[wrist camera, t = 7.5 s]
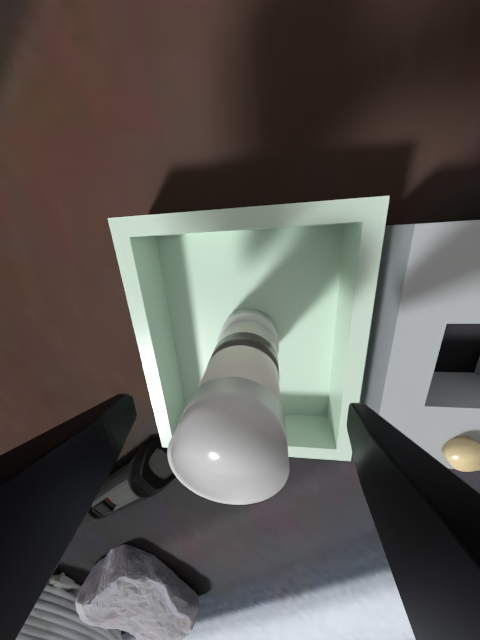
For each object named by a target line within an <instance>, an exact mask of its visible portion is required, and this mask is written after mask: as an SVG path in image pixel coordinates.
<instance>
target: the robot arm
mask: <svg viewBox="0 0 480 640" xmlns="http://www.w3.org/2000/svg"><path fill="white" fill-rule="evenodd" d="M136 416H137V411H136V407H135V404H134V400H133V397H132V395H131V394H118V395H116V396H114V397H112V398H110V399H108V400H106V401H104V402H102V403H100V404H99V405H97V406H95V407H93V408H91V409H89V410H87V411H85V412H83V413H81V414H79V415H77V416H75V417H74V418H72V419H70V420H68V421H66V422H64V423H62V424H60V425H58V426H56V427H54V428H52V429H50V430H49V431H47V432H45V433H43V434H41V435H39V436H37V437H35V438H33V439H31V440H29V441H27V442H25V443H24V444H22V445H20V446H18V447H16V448H14V449H12V450H10V451H8V452H6V453H4V454H2V455H0V640H16V638H17V636H18V635H19V633H20V631H21V629H22V627H23V626H24V624H25V622H26V620H27V619H28V617H29V615H30V613H31V612H32V610H33V608H34V606H35V604H36V603H37V601H38V599H39V597H40V596H41V594H42V592H43V590H44V589H45V587H46V585H47V583H48V581H49V580H50V578H51V576H52V574H53V573H54V571H55V569H56V567H57V566H58V564H59V562H60V560H61V559H62V557H63V555H64V553H65V551H66V550H67V548H68V546H69V544H70V543H71V541H72V539H73V537H74V536H75V534H76V532H77V530H78V528H79V527H80V525H81V523H82V521H83V520H84V518H85V516H86V514H87V513H88V511H89V509H90V507H91V505H92V504H93V502H94V500H95V498H96V497H97V495H98V493H99V491H100V490H101V488H102V486H103V484H104V482H105V481H106V479H107V477H108V475H109V474H110V472H111V470H112V468H113V466H114V465H115V463H116V461H117V459H118V457H119V455H120V453H121V450H122V448H123V446H124V444H125V442H126V439H127V437H128V435H129V433H130V431H131V428H132V426H133V424H134V422H135V419H136ZM347 432H348V436H349V440H350V444H351V448H352V452H353V456H354V460H355V464H356V468H357V472H358V476H359V480H360V483H361V487H362V490H363V493H364V495H365V498H366V501H367V504H368V507H369V509H370V512H371V515H372V518H373V521H374V523H375V526H376V529H377V532H378V535H379V537H380V540H381V543H382V546H383V549H384V552H385V554H386V557H387V560H388V563H389V566H390V568H391V571H392V574H393V577H394V580H395V582H396V585H397V588H398V591H399V594H400V596H401V599H402V602H403V605H404V608H405V611H406V613H407V616H408V619H409V622H410V625H411V627H412V630H413V633H414V636H415V639H416V640H480V493H479V492H478V491H476V490H475V489H474V488H473V487H471V486H470V485H469V484H467V483H466V482H465V481H464V480H462V479H461V478H460V477H458V476H457V475H456V474H455V473H453V472H452V471H451V470H449V469H448V468H447V467H446V466H444V465H443V464H442V463H440V462H439V461H438V460H437V459H435V458H434V457H433V456H431V455H430V454H429V453H428V452H426V451H425V450H424V449H422V448H421V447H420V446H419V445H417V444H416V443H415V442H413V441H412V440H411V439H410V438H408V437H407V436H406V435H404V434H403V433H402V432H401V431H399V430H398V429H397V428H395V427H394V426H393V425H392V424H390V423H389V422H388V421H386V420H385V419H384V418H383V417H381V416H380V415H379V414H377V413H376V412H375V411H374V410H372V409H371V408H370V407H368V406H367V405H366V404H364V403H350V404H349V408H348V416H347Z"/></svg>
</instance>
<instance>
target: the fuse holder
mask: <svg viewBox="0 0 480 640" xmlns="http://www.w3.org/2000/svg"><path fill="white" fill-rule="evenodd" d="M477 323H480V220H466V221H451V222H435V223H419V224H403V225H388V226H385V232H384V239H383V245H382V252H381V259H380V266H379V272H378V279H377V286H376V293H375V300H374V306H373V313H372V320H371V327H370V333H369V340H368V347H367V354H366V361H365V367H364V374H363V381H362V388H361V394H360V401H359V403H364V404H366V405H367V406H368V407H370V408H371V409H372V410H374V411H375V412H376V413H377V414H379V415H380V416H381V417H383V418H384V419H385V420H386V421H388V422H389V423H390V424H392V425H393V426H394V427H395V428H397V429H398V430H399V431H401V432H402V433H403V434H404V435H406V436H407V437H408V438H410V439H411V440H412V441H413V442H415V443H416V444H417V445H419V446H420V447H421V448H422V449H424V450H425V451H426V452H428V453H429V454H430V455H431V456H433V457H434V458H435V459H437V460H438V461H439V462H440V463H442V464H443V465H444V466H446V467H447V468H450V469H456V470H459V471H464V472H471V471H476V470H477V471H480V357H479V359H478V362H477V365H476V368H475V371H474V373H470V372H434V369H435V365H436V361H437V358H438V354H439V350H440V347H441V343H442V339H443V335H444V332H445V328H446V324H477Z"/></svg>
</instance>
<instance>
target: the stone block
mask: <svg viewBox="0 0 480 640" xmlns="http://www.w3.org/2000/svg"><path fill="white" fill-rule="evenodd" d="M75 604H76V611H77V613H78V614H79V618H80V620H81V621H82V622H84V623H86V624H88V625H90V626H96V627H101V628H103V629H105V630H106V629H119V630H122V631H126V632H129V633H130V634H132V635H134V636H135V637H136V639H137V640H182V639H183V638H184V637H185V636H187V635H188V634H189V633H190V632H191V631H192V628H193V625H194V622H195V618H196V614H197V612H198V610H199V600H198V595H197V594H196V592H195V591H194V590H193V589H191V588H190V587H189V586H188V585H187V584H186V583H185V582H184V581H182V580H181V579H179V577H178V576H177V575H176V574H175V573H174V572H173V571H172V570H171V569H169V568H168V567H167V566H166V565H165V564H164V563H162V562H161V561H160V560H158V559H157V558H156V557H155V556H154V555H153V554H150V553H147V552H145V551H142V550H140V549H137V548H135V547H133V546H129V545H121V546H119V547H115V548H113V549H111V550H110V552H109V553H108V554H107V555H106V557H105V558H103V559H101V560H100V561H99V562H98V563H97V564H96V565H95V566H94V567H93V568H92V570H91V572H90V574H89V575H88V577H87V578H86V580H85V582H84V584H83V585H82V587H81V589H80V591H79V593H78V595H77V598H76V601H75Z"/></svg>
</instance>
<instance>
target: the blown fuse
mask: <svg viewBox="0 0 480 640" xmlns="http://www.w3.org/2000/svg"><path fill="white" fill-rule="evenodd" d="M278 351H279V344H278V333H277V328H276V325H275V323H274V321H273V320H272V319H271V317H270V316H268V315H267V314H266V313H264V312H262V311H260V310H257V309H251V308H247V309H241V310H238V311H236V312H234V313H233V314H231V315H230V316H229V317H228V318H227V320H226V321H225V323H224V325H223V327H222V330H221V332H220V334H219V336H218V339H217V345H216V347H215V349H214V351H213V353H212V356H211V358H210V360H209V362H208V365H207V368H206V370H205V373H204V375H203V377H202V379H201V382H200V384H199V386H198V388H197V389H196V390H195V391H194V392H193V393H192V395H191V397H190V399H189V401H188V403H187V405H186V407H185V409H184V412H183V414H182V416H181V418H180V420H179V422H178V425H177V427H176V429H175V431H174V433H173V435H172V437H171V440H170V442H169V445H168V449H167V457H168V462H169V465H170V467H171V469H172V471H173V473H174V474H175V476H176V477H177V478H178V480H179V481H180V482H181V483H182V484H183V485H185V486H186V487H187V488H188V489H190V490H191V491H193V492H194V493H196V494H198V495H200V496H202V497H204V498H207V499H209V500H212V501H216V502H220V503H225V504H235V505H242V504H252V503H256V502H260V501H263V500H266V499H268V498H270V497H272V496H273V495H275V494H276V493H277V492H278V491H279V490H281V488H282V487H283V486H284V485H285V483H286V481H287V478H288V475H289V457H288V446H287V435H286V423H285V414H284V410H283V407H282V405H281V400H280V386H279V366H278V357H277V355H278Z"/></svg>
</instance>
